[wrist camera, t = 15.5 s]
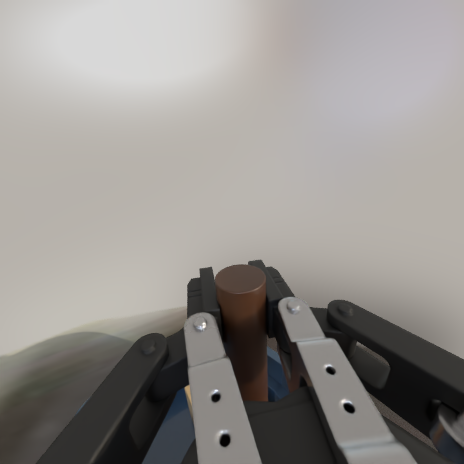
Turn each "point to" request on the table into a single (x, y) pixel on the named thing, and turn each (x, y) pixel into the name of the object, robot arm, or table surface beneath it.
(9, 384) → the table surface
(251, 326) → the cylinder
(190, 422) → the bowl
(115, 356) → the table surface
